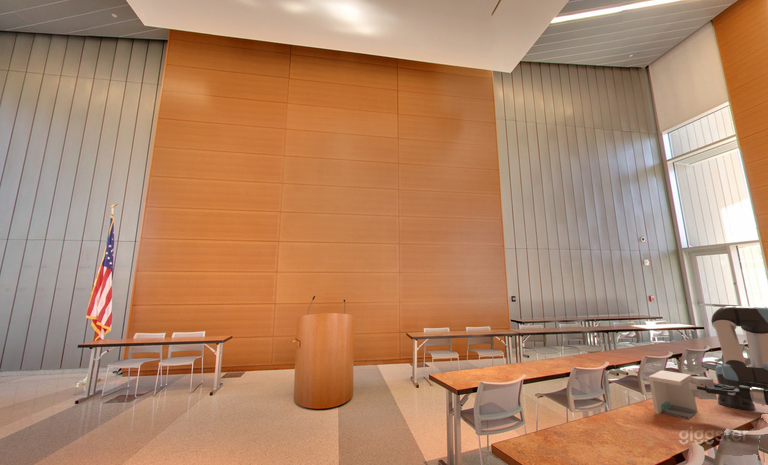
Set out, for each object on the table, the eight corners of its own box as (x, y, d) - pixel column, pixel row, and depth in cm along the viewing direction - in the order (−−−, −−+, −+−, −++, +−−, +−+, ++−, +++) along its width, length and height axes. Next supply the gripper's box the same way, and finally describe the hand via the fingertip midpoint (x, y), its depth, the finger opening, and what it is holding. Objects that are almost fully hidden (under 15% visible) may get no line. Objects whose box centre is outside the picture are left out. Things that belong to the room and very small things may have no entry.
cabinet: (697, 411, 179) (690, 374, 182) (687, 421, 165) (679, 381, 169) (667, 404, 189) (661, 370, 193) (655, 413, 176) (648, 376, 180)
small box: (708, 396, 171) (703, 376, 173) (717, 399, 166) (713, 379, 168) (692, 396, 172) (688, 376, 174) (701, 399, 166) (697, 378, 168)
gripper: (750, 407, 148) (687, 395, 167) (756, 398, 161) (697, 388, 179) (746, 390, 150) (684, 380, 168) (753, 383, 162) (694, 374, 180)
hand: (691, 384), depth 173 cm, fingers closed on small box, 9 cm apart
